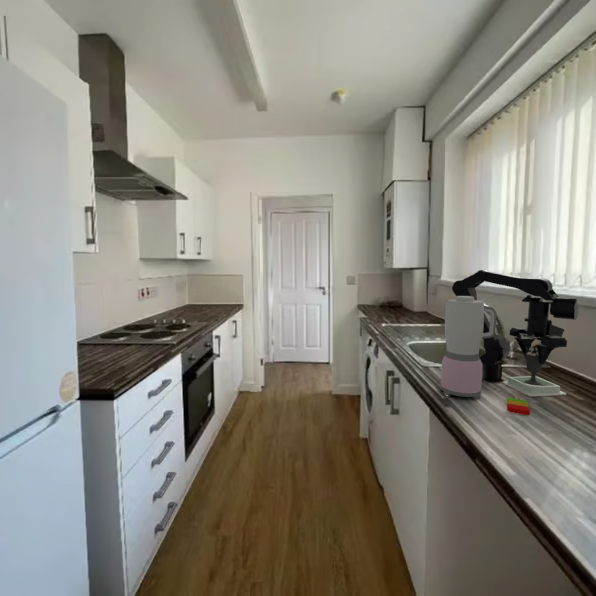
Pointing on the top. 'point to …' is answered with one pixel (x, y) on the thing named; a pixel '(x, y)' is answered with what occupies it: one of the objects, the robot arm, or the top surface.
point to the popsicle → (518, 406)
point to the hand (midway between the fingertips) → (534, 361)
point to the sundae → (532, 364)
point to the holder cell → (533, 386)
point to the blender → (464, 346)
